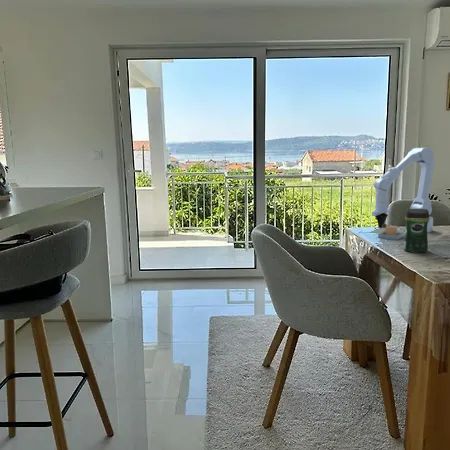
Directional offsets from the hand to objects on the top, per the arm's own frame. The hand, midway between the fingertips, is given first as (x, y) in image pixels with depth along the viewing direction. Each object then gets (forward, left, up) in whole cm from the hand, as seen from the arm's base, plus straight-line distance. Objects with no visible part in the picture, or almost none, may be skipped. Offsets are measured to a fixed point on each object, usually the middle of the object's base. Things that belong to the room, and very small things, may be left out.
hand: (380, 227), depth 205 cm
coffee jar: (-24, +23, -4) cm, 33 cm away
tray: (-8, +7, -4) cm, 11 cm away
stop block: (-8, +7, -3) cm, 11 cm away
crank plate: (-2, -5, -4) cm, 7 cm away
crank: (-2, -2, -2) cm, 4 cm away
